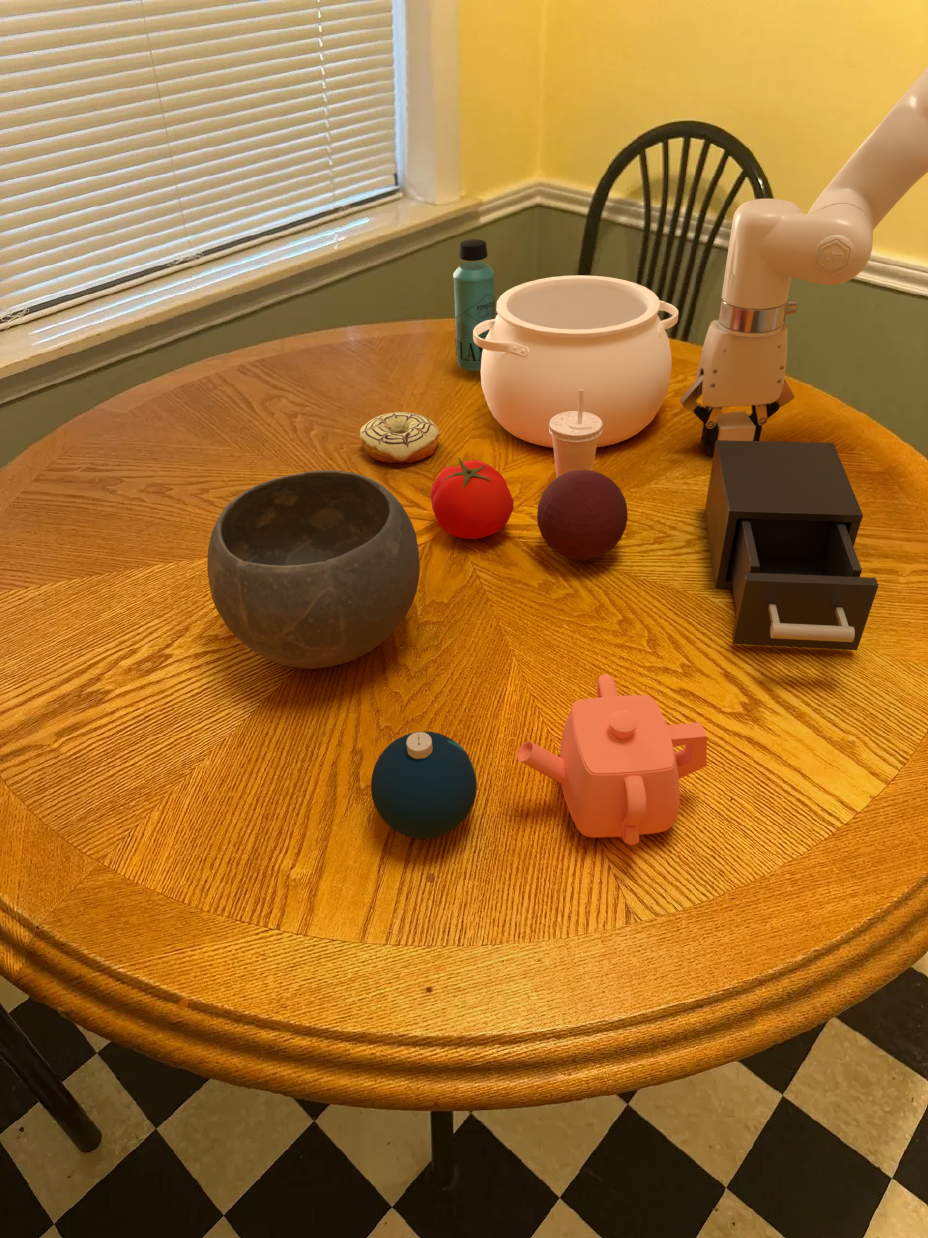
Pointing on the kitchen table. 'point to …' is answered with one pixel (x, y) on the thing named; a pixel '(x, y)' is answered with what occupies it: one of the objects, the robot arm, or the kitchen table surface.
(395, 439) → the decorated donut
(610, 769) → the teapot
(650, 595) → the kitchen table surface
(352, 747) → the kitchen table surface
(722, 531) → the cabinet
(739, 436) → the block
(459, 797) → the christmas ornament
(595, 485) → the decorative ball
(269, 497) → the bowl
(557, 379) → the pot
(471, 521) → the tomato
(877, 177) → the robot arm
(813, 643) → the drawer
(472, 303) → the beverage bottle
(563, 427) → the smoothie
